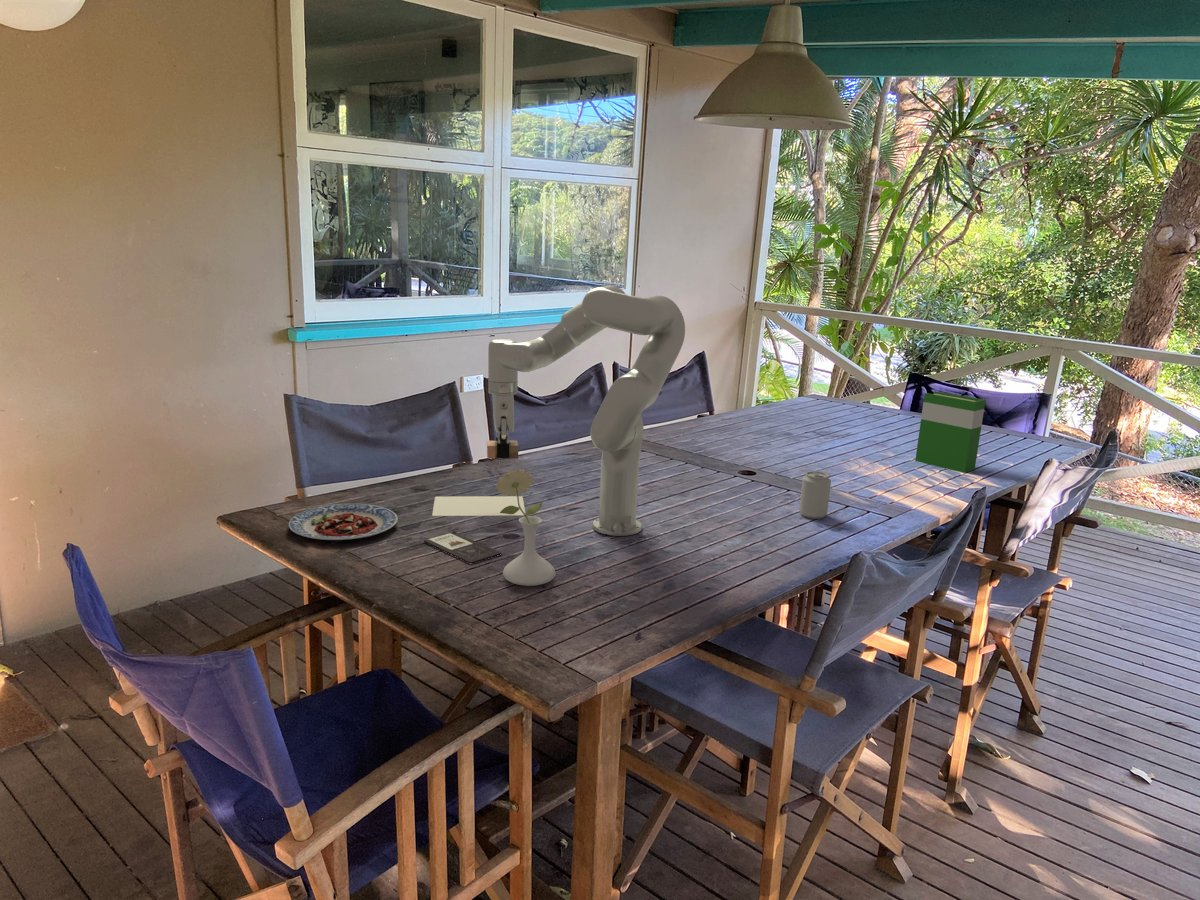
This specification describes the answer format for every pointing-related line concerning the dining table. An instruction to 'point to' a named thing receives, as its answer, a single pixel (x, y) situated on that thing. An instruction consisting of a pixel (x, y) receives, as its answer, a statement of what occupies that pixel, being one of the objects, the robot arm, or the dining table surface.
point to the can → (815, 495)
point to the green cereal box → (950, 431)
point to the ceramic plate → (343, 521)
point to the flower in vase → (529, 564)
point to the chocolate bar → (462, 547)
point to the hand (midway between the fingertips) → (502, 454)
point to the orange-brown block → (493, 450)
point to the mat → (476, 505)
